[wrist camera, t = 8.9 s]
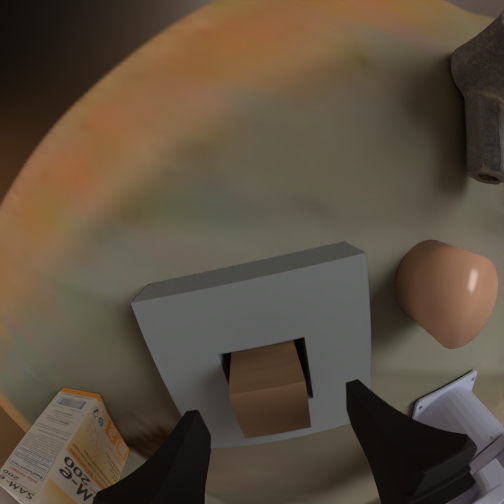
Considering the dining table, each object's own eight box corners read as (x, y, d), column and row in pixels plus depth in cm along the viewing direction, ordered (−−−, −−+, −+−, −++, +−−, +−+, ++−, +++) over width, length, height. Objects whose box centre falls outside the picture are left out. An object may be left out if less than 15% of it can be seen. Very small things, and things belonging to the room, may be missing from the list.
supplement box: (133, 450, 20) (98, 551, 7) (94, 441, 20) (53, 530, 7) (101, 391, 18) (34, 509, 5) (61, 384, 18) (-10, 479, 5)
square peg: (294, 363, 17) (311, 427, 12) (244, 372, 17) (245, 438, 12) (287, 320, 17) (305, 380, 11) (233, 331, 17) (228, 394, 11)
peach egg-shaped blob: (451, 303, 17) (491, 329, 12) (394, 325, 17) (430, 362, 12) (452, 232, 16) (500, 247, 11) (392, 249, 16) (438, 271, 11)
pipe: (439, 166, 15) (529, 164, 7) (435, 27, 12) (490, -11, 4) (488, 190, 15) (564, 200, 7) (483, 60, 12) (540, 39, 4)
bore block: (355, 391, 18) (368, 417, 15) (205, 421, 18) (201, 448, 16) (345, 241, 16) (365, 252, 13) (148, 284, 16) (130, 302, 13)
